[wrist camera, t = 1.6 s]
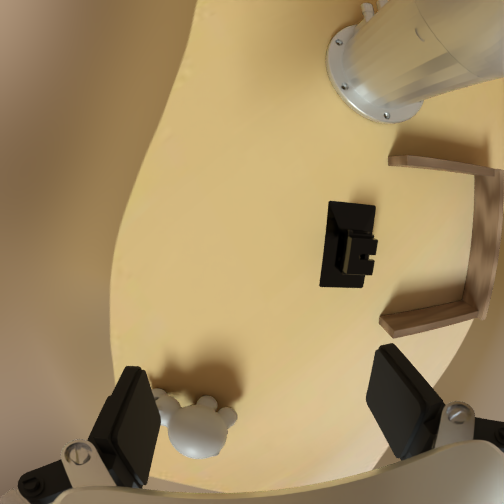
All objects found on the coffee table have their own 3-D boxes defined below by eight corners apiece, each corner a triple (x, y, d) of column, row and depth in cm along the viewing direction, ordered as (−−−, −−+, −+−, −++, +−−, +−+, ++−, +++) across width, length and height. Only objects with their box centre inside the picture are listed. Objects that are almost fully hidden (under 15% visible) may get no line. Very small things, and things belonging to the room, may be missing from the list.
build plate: (363, 298, 33) (380, 315, 29) (306, 297, 32) (316, 316, 28) (380, 194, 30) (401, 198, 25) (319, 186, 29) (334, 188, 25)
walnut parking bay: (388, 156, 28) (412, 154, 23) (478, 168, 29) (503, 170, 24) (378, 323, 33) (396, 342, 28) (465, 305, 34) (485, 318, 29)
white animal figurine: (170, 360, 36) (133, 387, 28) (247, 410, 33) (224, 450, 25) (155, 394, 37) (120, 421, 29) (224, 440, 34) (200, 478, 26)
